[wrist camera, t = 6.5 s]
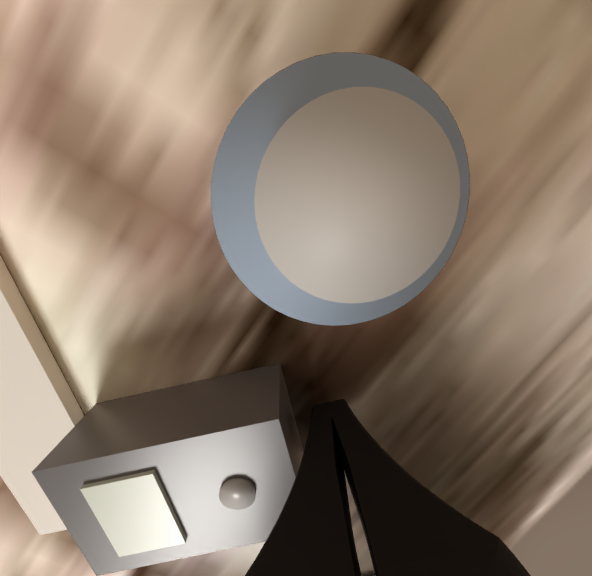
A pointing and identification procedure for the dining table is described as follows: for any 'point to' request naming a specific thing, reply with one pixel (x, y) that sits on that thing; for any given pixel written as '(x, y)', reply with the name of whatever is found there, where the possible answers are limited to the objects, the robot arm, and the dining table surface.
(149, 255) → the dining table surface
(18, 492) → the batten
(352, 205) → the peg
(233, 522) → the box
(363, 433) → the robot arm
